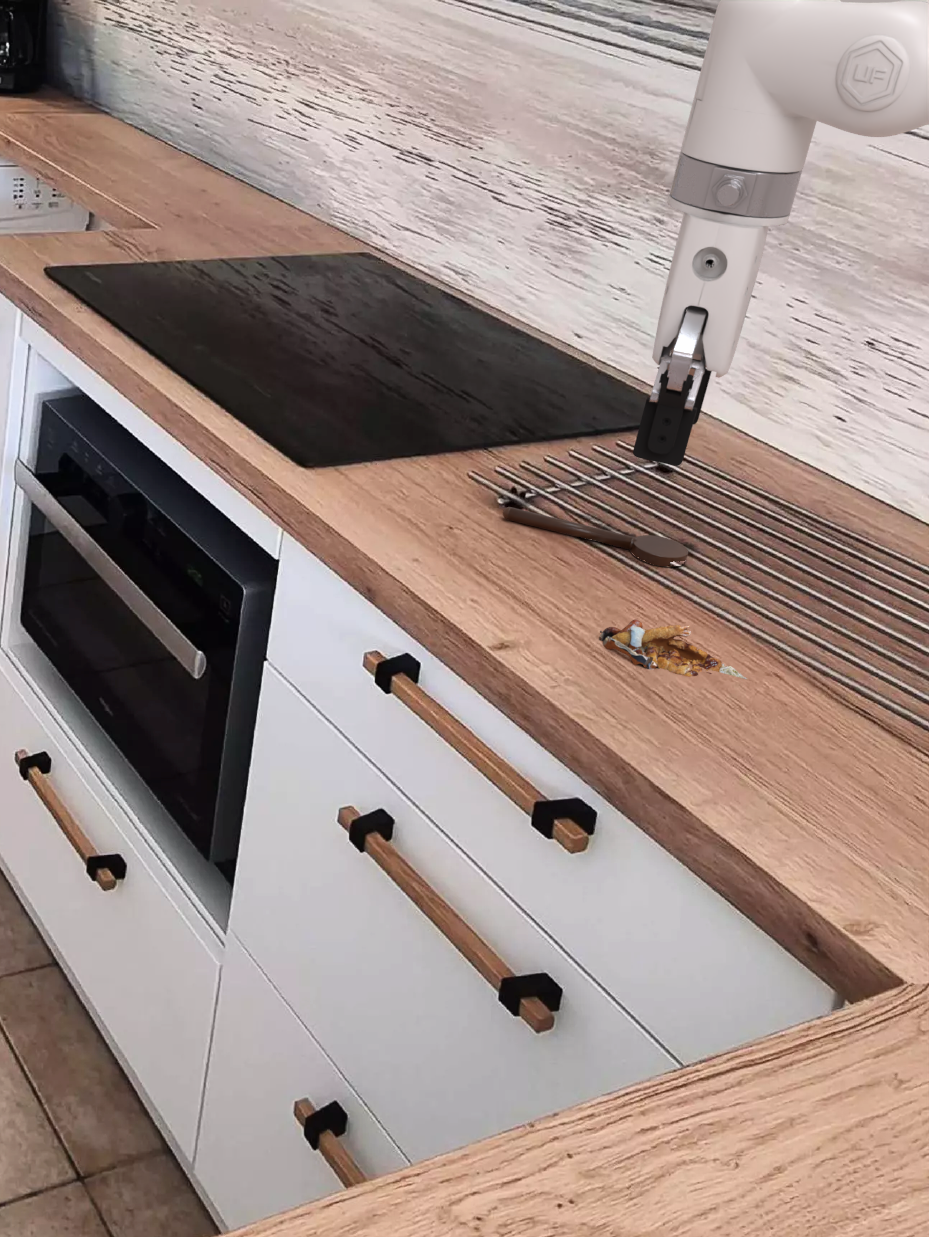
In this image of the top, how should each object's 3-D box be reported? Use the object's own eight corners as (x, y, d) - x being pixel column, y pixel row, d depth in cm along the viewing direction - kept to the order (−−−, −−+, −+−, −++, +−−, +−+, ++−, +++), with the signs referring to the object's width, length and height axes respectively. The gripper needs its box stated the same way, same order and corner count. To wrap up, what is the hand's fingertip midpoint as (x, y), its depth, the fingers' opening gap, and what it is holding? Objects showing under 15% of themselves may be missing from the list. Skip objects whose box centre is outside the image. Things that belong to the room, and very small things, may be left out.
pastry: (756, 715, 125) (770, 673, 124) (591, 679, 128) (602, 637, 126) (751, 674, 131) (764, 633, 130) (593, 641, 134) (604, 600, 132)
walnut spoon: (688, 553, 152) (691, 541, 151) (682, 572, 148) (685, 560, 147) (506, 509, 157) (509, 497, 157) (496, 526, 153) (498, 514, 153)
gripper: (785, 224, 100) (709, 491, 108) (801, 178, 115) (732, 417, 122) (656, 202, 103) (591, 464, 111) (687, 159, 117) (627, 394, 125)
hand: (665, 439), depth 117 cm, fingers open, 9 cm apart
